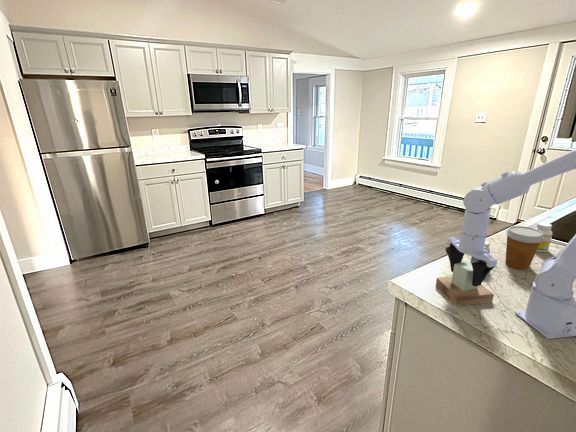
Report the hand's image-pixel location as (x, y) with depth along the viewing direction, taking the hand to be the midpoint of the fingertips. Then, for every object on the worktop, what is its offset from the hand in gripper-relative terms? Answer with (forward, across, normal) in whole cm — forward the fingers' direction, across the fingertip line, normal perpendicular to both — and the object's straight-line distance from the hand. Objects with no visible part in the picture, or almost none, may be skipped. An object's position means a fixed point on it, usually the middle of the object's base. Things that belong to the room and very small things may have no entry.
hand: (465, 278), depth 84 cm
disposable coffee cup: (+5, +8, -28) cm, 30 cm away
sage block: (+2, 0, 0) cm, 2 cm away
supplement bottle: (+5, +15, -46) cm, 48 cm away
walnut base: (+5, 0, 0) cm, 5 cm away
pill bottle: (+5, +12, -17) cm, 21 cm away
